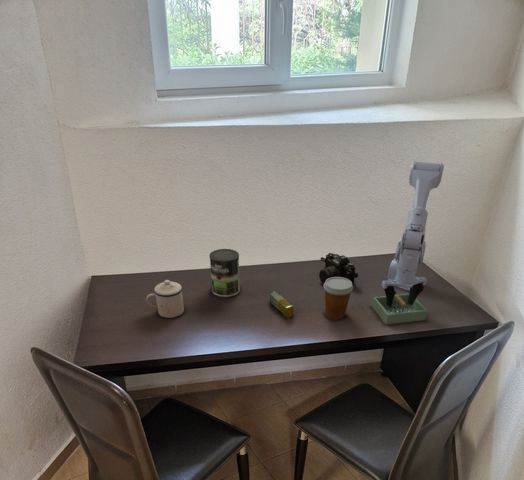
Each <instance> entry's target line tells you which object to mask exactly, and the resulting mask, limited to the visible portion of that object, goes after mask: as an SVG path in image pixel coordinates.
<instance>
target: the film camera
mask: <svg viewBox="0 0 524 480" xmlns="http://www.w3.org/2000/svg"><path fill="white" fill-rule="evenodd" d="M320 262H324V268H322V269H320V271H319V274H318V277H319V281H320V282H321V284H322V285H324V283H325V281H326V280H327V279H329V278H331V277H343V278H346V279H348V280H350V281H351V282H352V285H353V287H354V286H355V279H357V278H358V277H359V274H358V273H357V272H356V266H355V265H354V263H352V262H350V259H349V258H348V256H345V255H344V254H341V255H339V254H337V253H332V252H329V253H328V254H325V257H323V256H321V257H320Z"/></svg>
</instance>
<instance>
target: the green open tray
mask: <svg viewBox="0 0 524 480" xmlns="http://www.w3.org/2000/svg"><path fill="white" fill-rule="evenodd" d="M409 294H410V292H409V293H399V294H395V296H398V295H399V297H400V298H401V299H402V300H403V299H404V302H405V303H406V306H407V307H408V308H409V309H410V312H407V310H406V309H405V307H404V311H405V312H401V309H400V308H396V309H397V310H398V311H399V309H400V313H397V312H396V313H391V312H390V310H389V309H386V310H387V311H386V310H385V308H384V307H386V302H387V299H386V295H382V296H373V297H372V302H371V307H372V308H373V310H374V311H375V312H376V314H377V315H378V316H379V318H380V319H381V320H382V321H383V323H384V324H385V325H393V324H402V323H411V322H420V321H426V320H427V316H428V309H427V308H426V307H425V306H424V305H423V304H422V303H421V302H420V301H419V300H418V298H416V300H415V301H414V303H413V305H410V304H409V303H408V298H409ZM395 296H394V298H393V303H392V306H395V302H396V299H395ZM398 303H399V302H398V301H397V306H398ZM399 306H400V304H399ZM387 307H388V306H387ZM412 308H413V311H411V310H412ZM391 310H392V311H393V312H395V309H394V308H393V309H391Z"/></svg>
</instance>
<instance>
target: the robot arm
mask: <svg viewBox="0 0 524 480" xmlns="http://www.w3.org/2000/svg"><path fill="white" fill-rule="evenodd" d="M444 168H445V165H444V163H443V162H442V163H435V162H421V161H416V160H414V161H413V162H412V163H411V167H410V171H409V176H408V177H409V178H408V183H409V186H411V187H413V188H414V191H415V193H414V199H413V204H412V208H411V209H409V211H408V214H407V218H406V223H405V228H404V231H403V232H402V234H401V235H402V236H401V237H400V238H399V239H398V240H397V244H396V248H395V255H394V258H393V259H392V260H391V262H390V264H389V267H388V273H387V279H385V280H382V281H381V287H382V288H383V291H384V293H385V296H386V299H387V306H388V307H389V308H390V307H391V306H392V303H393V298H394V296H395V295H397V294H396V293H397V291H396V290H395V287H397V288H400V289H403V290H406V291H409V293H410V294H409V293H408V294H409V298H408V303H409V304H410V305H413V303H414V301H415V300H416V299H418V297H419V295H420V294H421V293H422V292H424V289H425V285H427V280H428V279H427V278H426V277H425V276H417V271H418V267H419V265H421V264H422V263H423V262H424V257H425V252H426V246H427V243H426V240H425V239H426V226H427V220H428V215H429V212H428V211H427V209H426V207H427V202H428V199H429V197H430V196H429V195H430V193H431V191H432V190H433V189H438V187H439V186H440V184H441V183H442V177H443V173H444Z"/></svg>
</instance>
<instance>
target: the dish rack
mask: <svg viewBox="0 0 524 480" xmlns="http://www.w3.org/2000/svg"><path fill="white" fill-rule="evenodd" d="M397 295H398V296H395V299H396V302H395V306H391V307H390V308H389V307H387V302H386V307H384V308H385V310H386V309H389V310H390V312H391V313H396V312H397V313H400V309H401V312H405V311H404V307H405V309H406V310H407V312H410V309H409V308H408V307H407V306H406V303H405V302H404V299H403V300H402V299H401V298H400V297H399V295H400V294H397ZM397 301H398V302H399V303H398V306H397ZM399 304H400V306H399ZM393 308H394V309H395V312H393V311H392V310H391V309H393ZM396 308H400V309H399V311H398V310H397V309H396ZM386 311H387V310H386ZM411 311H413V308H412V310H411Z"/></svg>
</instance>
